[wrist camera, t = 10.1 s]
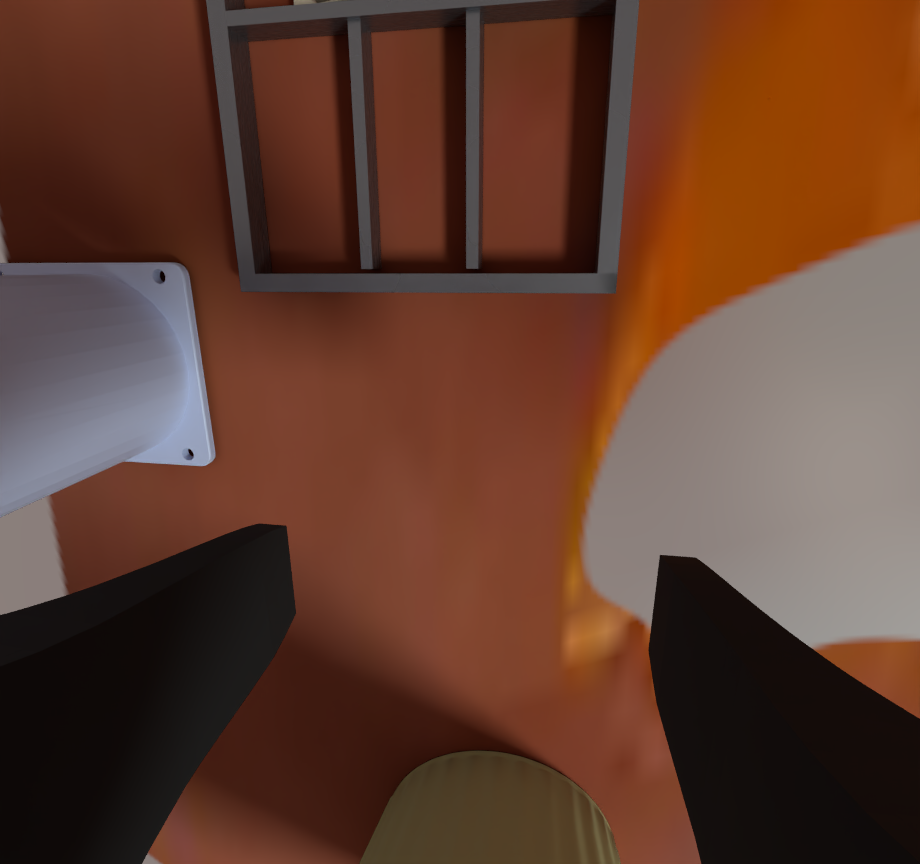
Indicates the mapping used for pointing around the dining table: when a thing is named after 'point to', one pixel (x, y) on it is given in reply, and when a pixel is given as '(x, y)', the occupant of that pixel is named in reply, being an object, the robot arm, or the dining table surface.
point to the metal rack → (375, 10)
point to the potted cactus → (490, 816)
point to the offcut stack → (313, 1)
